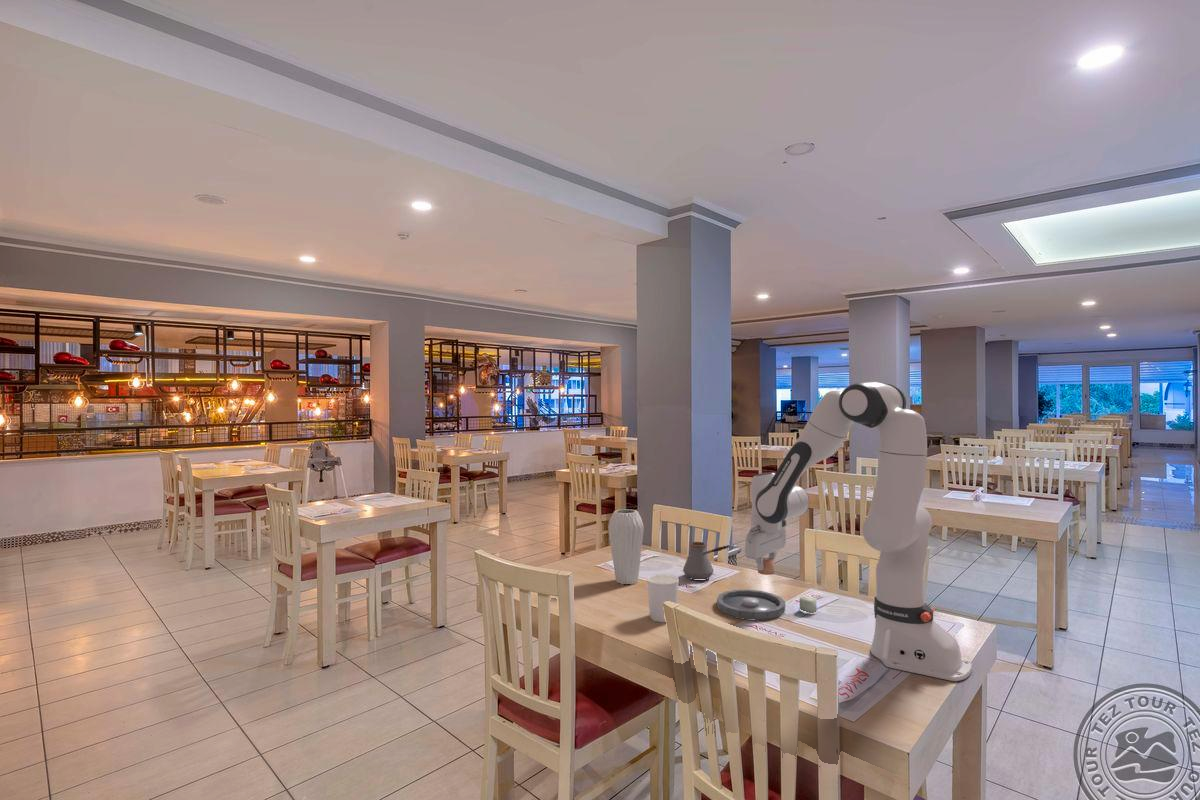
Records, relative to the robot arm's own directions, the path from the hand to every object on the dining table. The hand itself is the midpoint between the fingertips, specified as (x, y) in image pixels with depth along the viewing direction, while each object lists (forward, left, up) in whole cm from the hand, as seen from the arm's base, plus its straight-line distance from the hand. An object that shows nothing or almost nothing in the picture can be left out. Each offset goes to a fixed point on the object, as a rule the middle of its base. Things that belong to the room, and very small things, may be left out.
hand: (766, 567), depth 179 cm
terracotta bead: (0, 0, -2) cm, 2 cm away
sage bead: (-9, -9, -14) cm, 19 cm away
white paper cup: (+22, +25, -14) cm, 36 cm away
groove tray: (+6, 0, -14) cm, 15 cm away
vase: (+54, +6, -14) cm, 56 cm away
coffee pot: (+32, -15, -14) cm, 38 cm away
